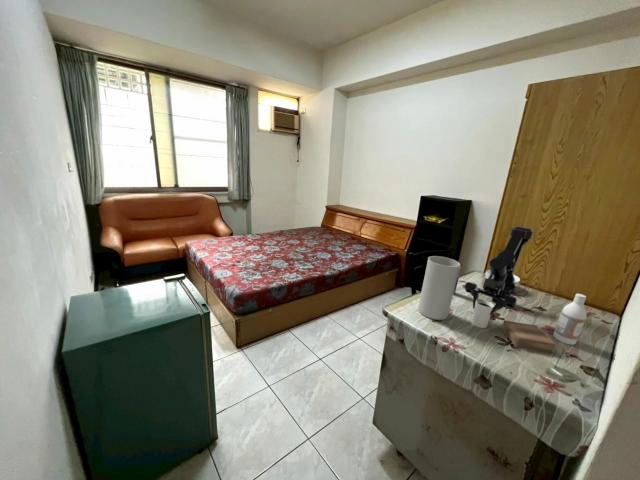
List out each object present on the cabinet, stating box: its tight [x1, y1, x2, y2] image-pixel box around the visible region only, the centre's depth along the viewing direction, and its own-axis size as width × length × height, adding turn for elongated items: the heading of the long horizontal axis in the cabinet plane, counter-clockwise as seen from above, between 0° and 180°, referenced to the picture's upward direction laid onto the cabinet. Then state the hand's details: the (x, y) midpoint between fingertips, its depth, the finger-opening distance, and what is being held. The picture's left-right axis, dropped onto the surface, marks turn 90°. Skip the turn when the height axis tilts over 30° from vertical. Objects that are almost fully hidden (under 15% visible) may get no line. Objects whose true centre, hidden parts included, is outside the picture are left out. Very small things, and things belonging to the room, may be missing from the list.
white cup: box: [471, 298, 495, 329], centre depth 110 cm, size 7×7×10 cm
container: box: [453, 266, 462, 296], centre depth 138 cm, size 5×5×15 cm
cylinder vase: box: [417, 255, 461, 321], centre depth 115 cm, size 12×12×25 cm
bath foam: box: [552, 293, 587, 346], centre depth 103 cm, size 7×7×20 cm
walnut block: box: [501, 320, 556, 354], centre depth 102 cm, size 12×12×4 cm
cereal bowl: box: [484, 269, 521, 288], centre depth 152 cm, size 17×17×7 cm
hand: (481, 311), depth 109 cm, fingers closed on white cup, 6 cm apart
